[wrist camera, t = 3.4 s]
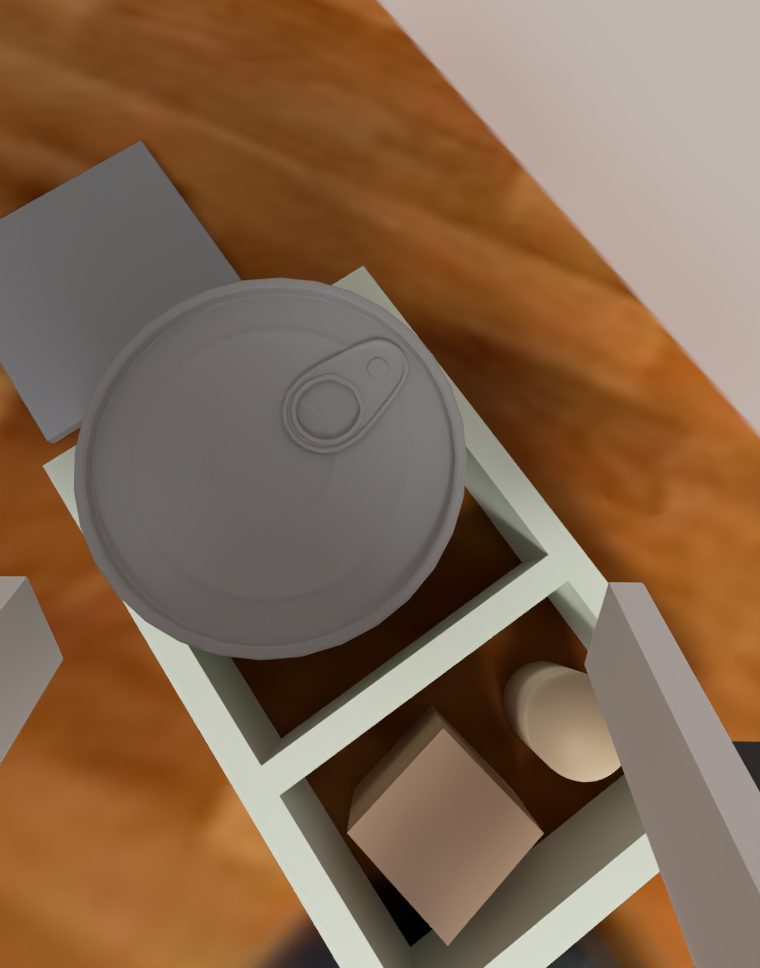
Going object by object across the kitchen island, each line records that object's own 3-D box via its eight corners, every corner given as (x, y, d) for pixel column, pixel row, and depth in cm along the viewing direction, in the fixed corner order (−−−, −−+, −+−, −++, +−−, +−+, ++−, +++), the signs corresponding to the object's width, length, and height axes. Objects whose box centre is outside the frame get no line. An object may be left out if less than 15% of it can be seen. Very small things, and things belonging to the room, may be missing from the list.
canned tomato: (310, 677, 21) (235, 758, 10) (180, 519, 22) (-10, 439, 11) (466, 535, 22) (550, 470, 11) (334, 392, 23) (295, 209, 12)
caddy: (94, 487, 22) (42, 466, 19) (365, 314, 24) (363, 265, 20) (403, 995, 19) (408, 1083, 15) (698, 753, 20) (762, 783, 17)
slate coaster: (-58, 260, 24) (-65, 255, 24) (144, 147, 26) (141, 140, 25) (53, 444, 23) (47, 441, 22) (263, 313, 24) (261, 308, 23)
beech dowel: (485, 692, 21) (510, 713, 17) (549, 644, 21) (588, 653, 17) (536, 765, 20) (574, 803, 16) (601, 714, 21) (653, 740, 17)
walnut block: (353, 788, 20) (346, 832, 16) (431, 704, 21) (443, 728, 17) (434, 877, 20) (447, 945, 16) (511, 788, 20) (543, 833, 16)
